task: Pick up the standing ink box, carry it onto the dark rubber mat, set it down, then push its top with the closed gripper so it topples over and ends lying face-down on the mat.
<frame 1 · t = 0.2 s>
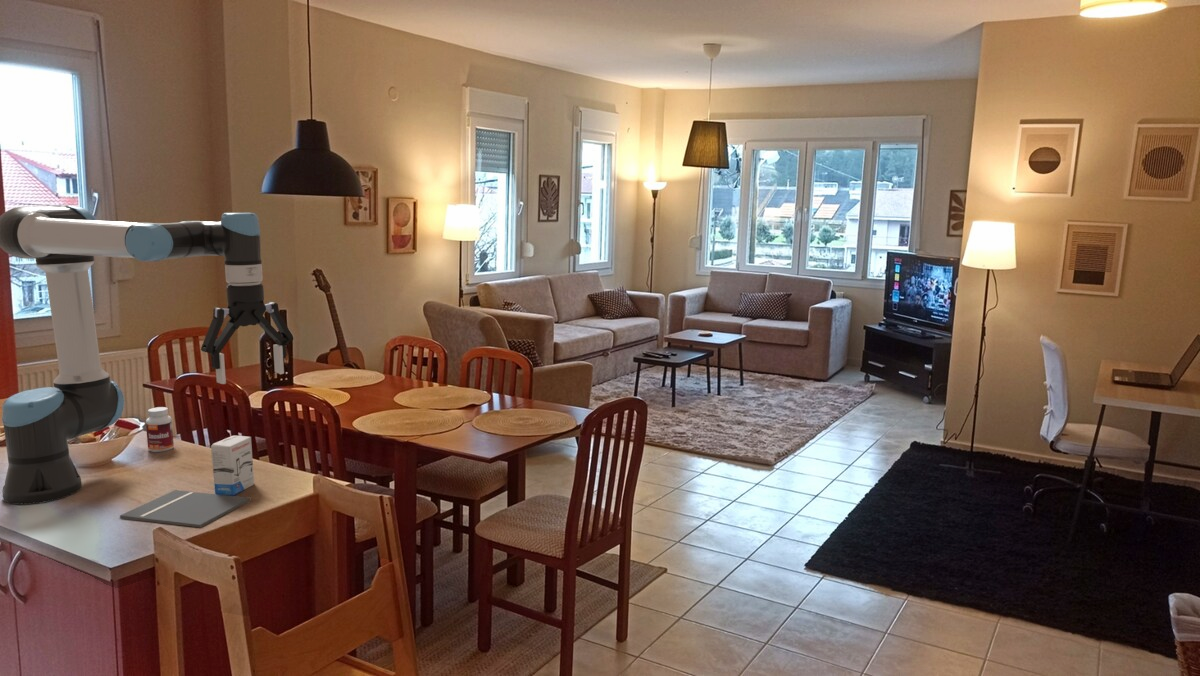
hand: (251, 378, 192), 27 cm above the table, fingers open, 13 cm apart
ink box: (235, 490, 198), on the table
pill bottle: (161, 449, 229), on the table
mat: (187, 509, 186), on the table
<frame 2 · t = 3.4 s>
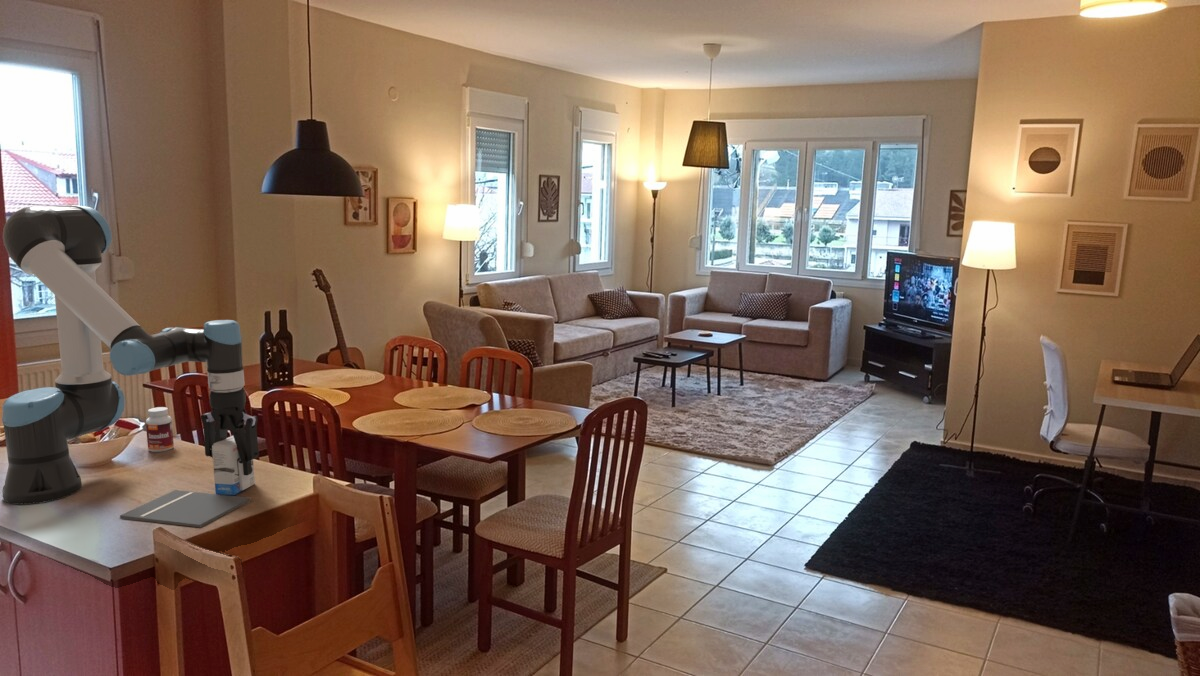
hand: (234, 486, 197), 1 cm above the table, fingers closed on ink box, 5 cm apart
ink box: (235, 489, 198), on the table, touching gripper
everything else where it was.
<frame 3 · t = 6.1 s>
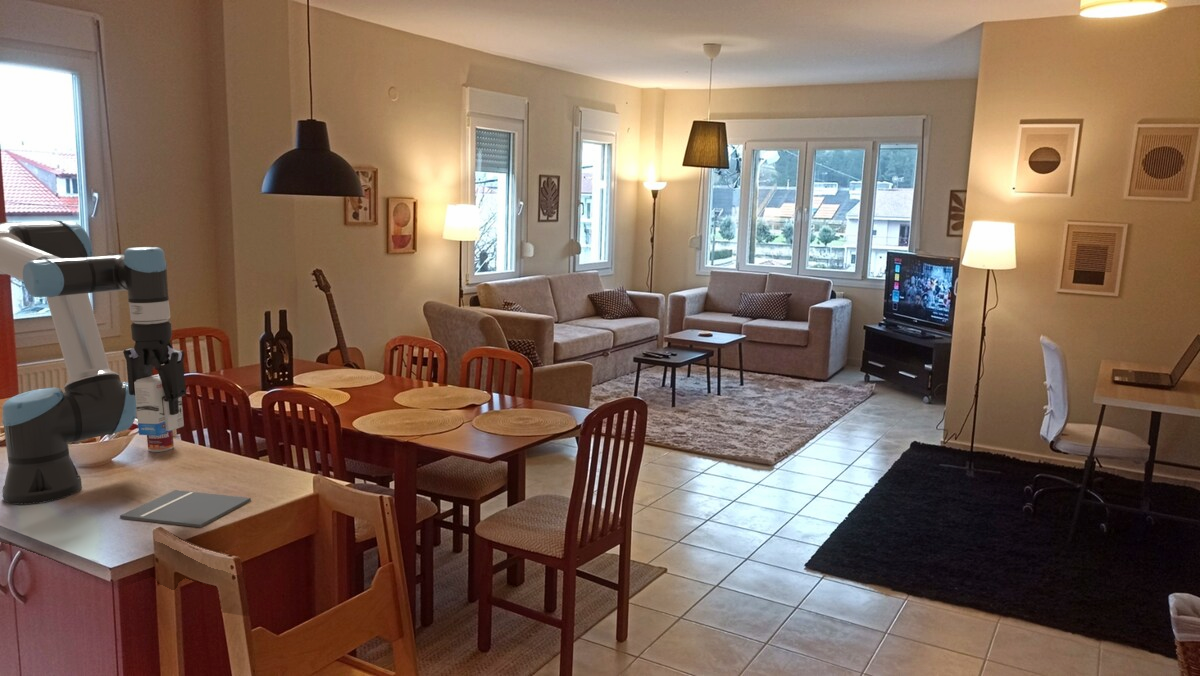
hand: (160, 427, 184), 18 cm above the table, fingers closed on ink box, 5 cm apart
ink box: (161, 431, 184), point 17 cm above the table, touching gripper
everything else where it was.
when the fingers open (2 cm above the table, at t = 9.1 s): ink box stays where it is, resting on mat.
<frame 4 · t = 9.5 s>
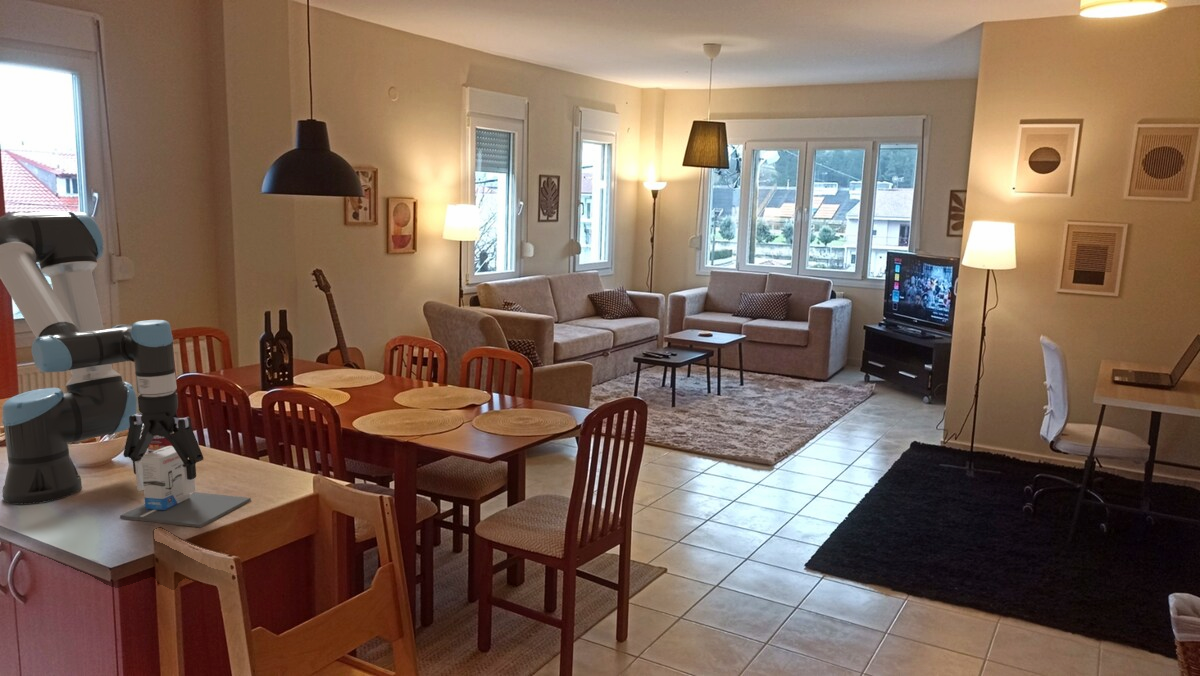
hand: (166, 490, 186), 4 cm above the table, fingers open, 11 cm apart
ink box: (168, 504, 187), point 1 cm above the table, touching mat
everything else where it was.
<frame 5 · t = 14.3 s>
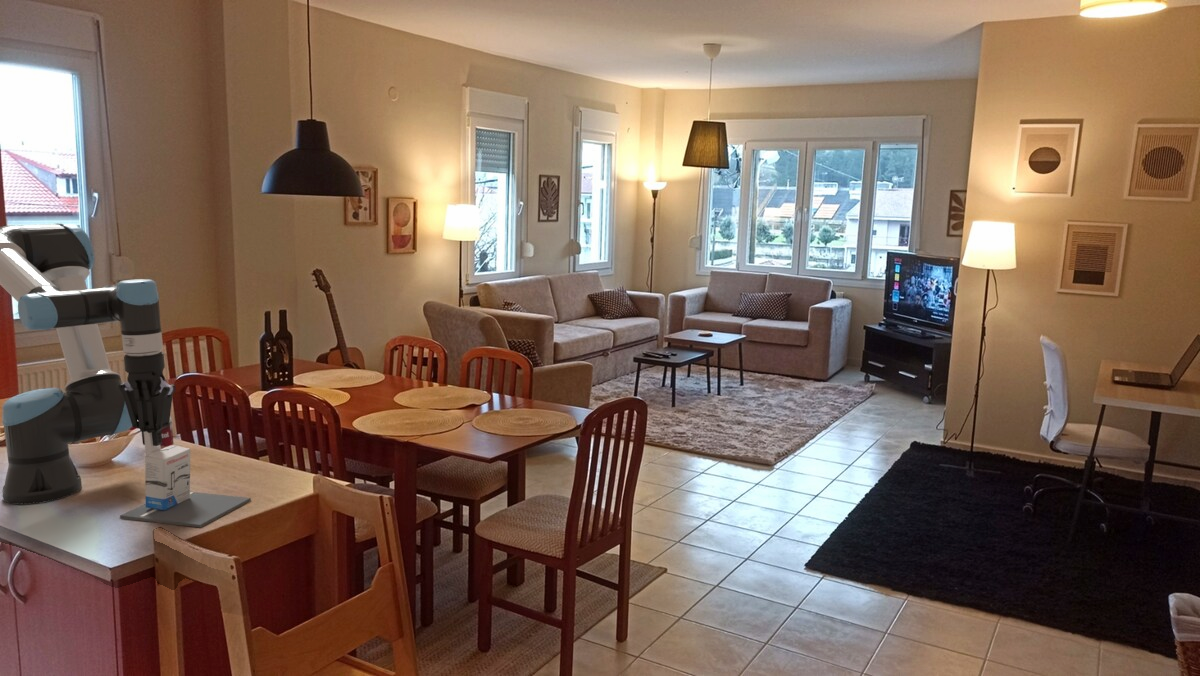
hand: (154, 459, 185), 11 cm above the table, fingers closed
ink box: (168, 503, 187), point 1 cm above the table, touching gripper, mat
everything else where it was.
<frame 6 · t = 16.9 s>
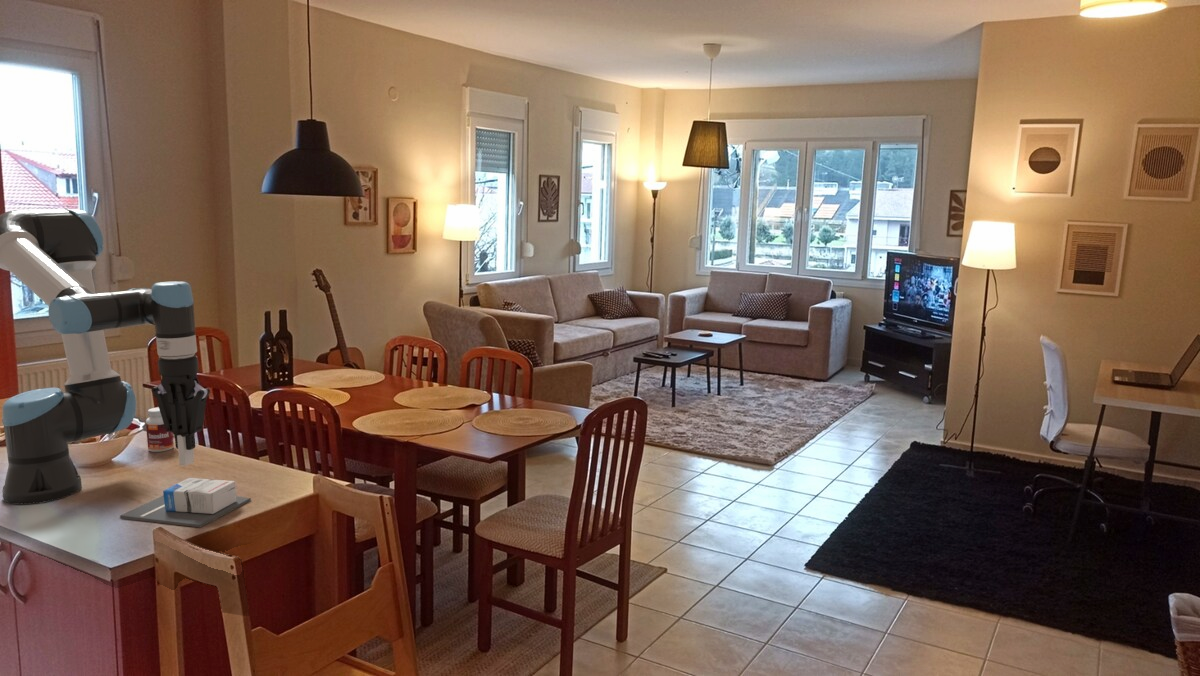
hand: (187, 463, 184), 10 cm above the table, fingers closed
ink box: (176, 493, 186), point 3 cm above the table, touching mat
everything else where it was.
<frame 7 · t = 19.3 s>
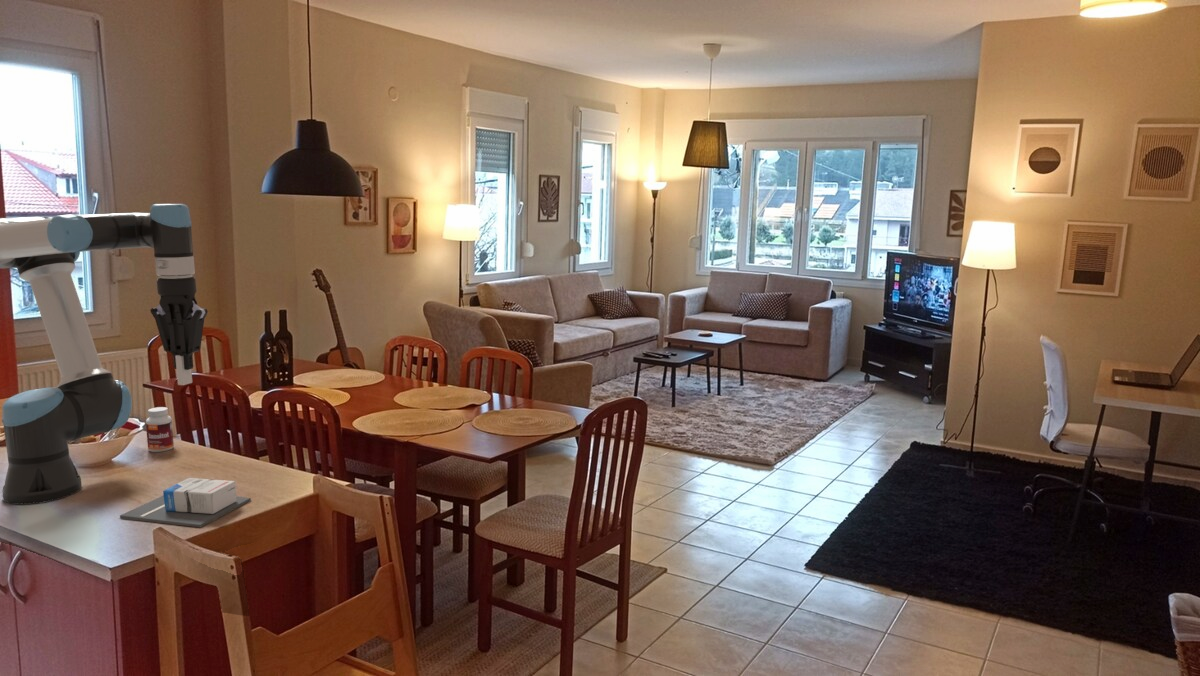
hand: (185, 383, 188), 26 cm above the table, fingers closed
nothing on the table moved.
at the end: ink box tilted 90°; ink box inside the target area (5.9 cm from its centre), point 3.1 cm above the table; the gripper is holding nothing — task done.
